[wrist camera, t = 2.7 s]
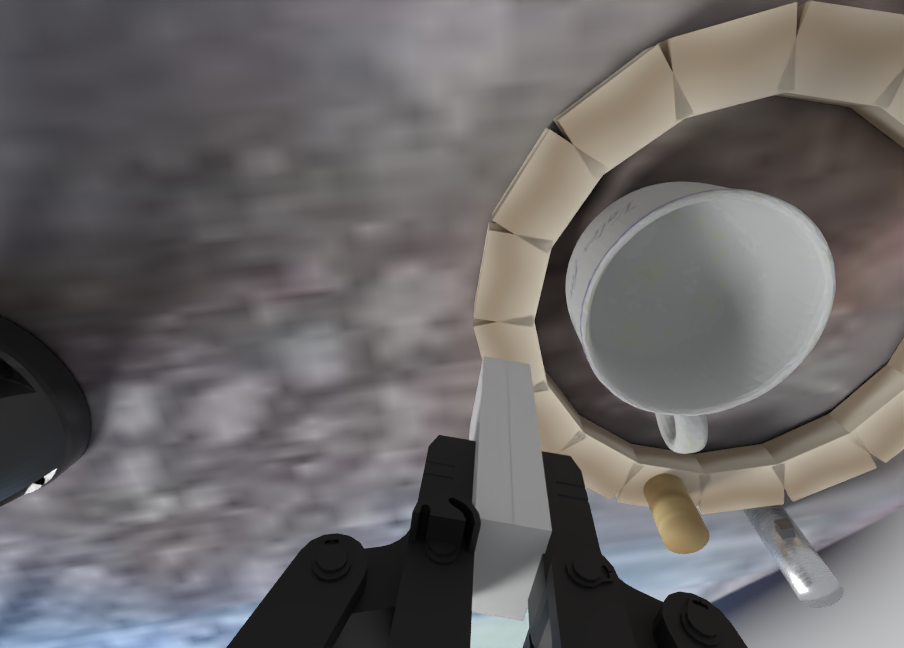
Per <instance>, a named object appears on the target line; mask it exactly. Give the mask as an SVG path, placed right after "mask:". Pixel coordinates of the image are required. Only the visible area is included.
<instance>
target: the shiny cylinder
mask: <svg viewBox="0 0 904 648" xmlns="http://www.w3.org/2000/svg"><path fill="white" fill-rule="evenodd" d="M743 511H744V513H745V514H746V516H747V517H748V519H749V521H750V522H751V524H752V525H753V527H754V528H755V530H756V532H757V533H758V535H759V536H760V538H761V539H762V541H763V543H764V544H765V546H766V547H767V549H768V551H769V552H770V554H771V555H772V557H773V558H774V560H775V562H776V563H777V565H778V566H779V568H780V570H781V571H782V573H783V574H784V576H785V577H786V579H787V580H788V582H789V584H790V585H791V587H792V589H793V590H794V592H795V593H796V595H797V596H798V598H799V599H800V601H801V602H802V603H803V604H804V605H806V606H809V607H813V608H821V607H826V606H829V605H832V604H834V603H835V602H837V601H838V600H840V598H841V597H842V595H843V588H842V586H841V585H840V583H839V582H838V581H837V579H836V578H835V577H834V575H833V574H832V573H831V571H830V570H829V568H828V567H827V566H826V564H825V563H824V562H823V561H822V559H821V558H820V556H819V555H818V554H817V552H816V551H815V549H814V548H813V547H812V545H811V544H810V543H809V541H808V540H807V539H806V537H805V536H804V535H803V533H802V532H801V531H800V529H799V528H798V526H797V525H796V524H795V522H794V521H793V520H792V518H791V517H790V516H789V514H788V513H787V512H786V510H785V509H784V507H783V506H782V505H773V506H765V507H757V508H749V509H743Z"/></svg>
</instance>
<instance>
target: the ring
mask: <svg viewBox="0 0 904 648" xmlns="http://www.w3.org/2000/svg"><path fill="white" fill-rule="evenodd" d="M773 95H774V96H781V97H787V98H794V99H800V100H807V101H813V102H820V103H826V104H833V105H839V106H846V107H850V108H852V109H853V110H854V111H856V112H857V113H858V114H860V115H861V116H862V117H863V118H865V119H866V120H867V121H869V122H870V123H871V124H873V125H874V126H875V127H877V128H878V129H879V130H880V131H882V132H883V133H884V134H886V135H887V136H888V137H890V138H891V139H892V140H894V141H895V142H896V143H898V144H899V145H900V146H901V147H903V148H904V15H903V14H896V13H890V12H883V11H877V10H870V9H863V8H857V7H850V6H844V5H837V4H830V3H824V2H817V1H808V2H805V3H802V4H800V5H797V2H794V3H791V4H787V5H784V6H780V7H777V8H773V9H770V10H766V11H763V12H760V13H756V14H753V15H749V16H746V17H742V18H739V19H735V20H732V21H728V22H725V23H721V24H718V25H714V26H711V27H707V28H704V29H701V30H697V31H694V32H690V33H687V34H683V35H680V36H676V37H673V38H670V39H667V40H665V41H662V42H660V43H657V44H656V45H655V46H653V47H650V48H648V49H645V50H644V51H642V52H641V53H640V54H638V55H637V56H636V57H634V58H633V59H632V60H630V61H629V62H628V63H627V64H625V65H624V66H623V67H621V68H620V69H619V70H617V71H616V72H615V73H613V74H612V75H611V76H609V77H608V78H607V79H606V80H604V81H603V82H602V83H600V84H599V85H598V86H596V87H595V88H594V89H592V90H591V91H590V92H588V93H587V94H586V95H584V96H583V97H582V98H581V99H579V100H578V101H577V102H575V103H574V104H573V105H571V106H570V107H569V108H567V109H566V110H565V111H563V112H562V113H561V114H559V115H558V116H557V117H556V118H554V119H553V120H554V121H555V123H556V125H557V126H558V128H559V129H560V131H561V133H562V134H563V136H564V137H565V139H566V140H565V139H564V138H562V137H561V136H559V135H558V134H556V133H555V132H553V131H552V130H550V129H547V128H545V129H544V131H543V133H542V134H541V136H540V137H539V139H538V141H537V142H536V144H535V145H534V147H533V149H532V150H531V152H530V153H529V155H528V157H527V158H526V160H525V161H524V163H523V165H522V166H521V168H520V169H519V171H518V173H517V174H516V176H515V177H514V179H513V181H512V182H511V184H510V185H509V187H508V189H507V190H506V192H505V193H504V195H503V197H502V198H501V200H500V201H499V203H498V205H497V206H496V208H495V209H494V211H493V213H492V221H494V222H496V223H490V222H489V223H488V229H487V235H486V240H485V246H484V252H483V258H482V264H481V269H480V275H479V281H478V287H477V292H476V298H475V304H474V315H473V318H474V330H475V334H476V338H477V342H478V345H479V349H480V353H481V357H482V361H483V356H484V357H490V358H496V359H502V360H508V361H514V362H520V363H526V364H530V368H531V376H532V383H533V391H534V398H535V406H536V414H537V421H538V429H539V436H540V444H541V451H544V452H550V453H556V454H562V455H568V456H571V457H572V459H573V460H574V461H575V463H576V464H577V465H578V467H579V468H580V470H581V471H582V475H583V480H584V484H585V487H587V488H589V489H591V490H593V491H595V492H597V493H598V494H600V495H602V496H604V497H606V498H608V499H611V498H612V497H613V496H614V495H615V496H616V499H617V502H620V503H626V504H632V505H638V506H645V507H649V508H650V510H651V513H652V515H653V518H654V520H655V523H656V525H657V528H658V530H659V533H660V535H661V538H662V540H663V543H664V545H665V547H666V548H667V549H669V550H670V551H672V552H674V553H678V554H689V553H693V552H696V551H698V550H700V549H702V548H703V547H704V546H705V545H706V544H707V542H708V540H709V532H708V530H707V528H706V526H705V524H704V522H703V520H702V518H701V517H700V515H699V513H698V511H697V509H696V507H698V509H699V511H700V513H701V514H709V513H717V512H725V511H733V510H741V509H749V508H757V507H765V506H773V505H782V504H784V491H785V492H786V494H787V495H788V496H789V497H790V499H791V500H792V501H793V502H794V501H796V500H799V499H801V498H804V497H806V496H809V495H811V494H814V493H816V492H819V491H821V490H824V489H826V488H829V487H831V486H834V485H836V484H839V483H841V482H843V481H846V480H848V479H851V478H853V477H856V476H858V475H861V474H863V473H866V472H868V471H871V470H873V469H876V468H877V467H876V465H875V463H874V461H873V459H872V457H871V455H870V454H872V455H874V456H875V457H877V458H878V459H880V460H882V461H883V462H885V463H886V462H888V461H889V460H890V459H892V458H893V457H894V456H896V455H897V454H898V453H900V452H901V451H902V450H903V449H904V337H903V339H902V341H901V342H900V344H899V346H898V347H897V349H896V351H895V352H894V354H893V356H892V357H891V359H890V360H889V362H888V364H887V365H886V366H884V367H883V368H882V369H881V370H880V371H879V372H877V373H876V374H875V375H874V376H873V377H872V378H870V379H869V380H868V381H867V382H866V383H864V384H863V385H862V386H861V387H860V388H859V389H857V390H856V391H855V392H854V393H853V394H852V395H850V396H849V397H848V398H847V399H846V400H845V401H843V402H842V403H841V404H840V405H839V406H837V407H836V408H835V409H834V410H833V411H832V412H830V413H829V414H828V415H825V416H823V417H821V418H819V419H816V420H814V421H812V422H810V423H808V424H805V425H803V426H801V427H799V428H796V429H794V430H792V431H790V432H788V433H785V434H783V435H781V436H779V437H776V438H774V439H772V440H770V441H767V442H765V443H763V444H759V445H752V446H745V447H738V448H731V449H724V450H717V451H710V452H704V453H697V454H691V453H688V454H682V453H677V452H674V451H672V450H666V449H660V448H653V447H647V446H641V445H635V444H630V443H628V442H627V441H625V440H623V439H621V438H619V437H618V436H616V435H614V434H612V433H610V432H609V431H607V430H605V429H603V428H602V427H600V426H598V425H596V424H594V423H593V422H591V421H589V420H587V419H586V418H584V417H582V416H580V415H579V414H578V413H577V412H576V410H575V409H574V408H573V406H572V405H571V404H570V402H569V401H568V400H567V398H566V397H565V396H564V394H563V393H562V392H561V391H560V389H559V388H558V387H557V385H556V384H555V383H554V381H553V380H552V379H551V377H550V376H549V375H548V373H547V372H546V371H545V369H544V366H543V361H542V356H541V351H540V347H539V342H538V337H537V332H536V327H535V322H534V320H535V316H536V312H537V307H538V303H539V299H540V295H541V290H542V286H543V282H544V278H545V273H546V269H547V265H548V261H549V256H550V252H551V248H552V246H553V245H554V244H555V242H556V241H557V239H558V238H559V236H560V235H561V234H562V232H563V231H564V229H565V228H566V227H567V225H568V224H569V222H570V221H571V220H572V218H573V217H574V215H575V214H576V212H577V211H578V210H579V208H580V207H581V205H582V204H583V203H584V201H585V200H586V198H587V197H588V195H589V194H590V193H591V191H592V190H593V188H594V187H595V186H596V184H597V183H598V181H599V180H600V178H601V177H602V176H603V175H604V174H605V173H607V172H608V171H610V170H611V169H612V168H614V167H615V166H617V165H618V164H620V163H621V162H623V161H624V160H625V159H627V158H628V157H630V156H631V155H633V154H634V153H635V152H637V151H638V150H640V149H641V148H643V147H644V146H646V145H647V144H648V143H650V142H651V141H653V140H654V139H656V138H657V137H659V136H660V135H661V134H663V133H664V132H666V131H667V130H669V129H670V128H672V127H673V126H674V125H676V124H677V123H679V122H680V121H682V120H683V119H685V118H688V117H692V116H696V115H699V114H703V113H707V112H711V111H715V110H719V109H723V108H726V107H730V106H734V105H738V104H742V103H746V102H750V101H753V100H757V99H761V98H765V97H769V96H773ZM869 453H870V454H869Z"/></svg>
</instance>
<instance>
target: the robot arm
mask: <svg viewBox="0 0 904 648" xmlns="http://www.w3.org/2000/svg"><path fill="white" fill-rule="evenodd" d="M89 437H90V416H89V411H88V407H87V404H86V401H85V399H84V396H83V394H82V392H81V390H80V388H79V386H78V385H77V383H76V381H75V380H74V378H73V377H72V375H71V374H70V372H69V371H68V370H67V368H66V367H65V366H64V365H63V364H62V362H61V361H60V360H59V359H58V358H57V357H56V356H55V355H54V354H53V353H52V352H51V351H50V350H49V349H48V348H47V347H46V346H45V345H43V344H42V343H41V342H40V341H39V340H37V339H36V338H35V337H33V336H32V335H31V334H29V333H28V332H26V331H25V330H23V329H22V328H20V327H19V326H17V325H15V324H13V323H12V322H10V321H8V320H6V319H4V318H2V317H0V506H2V505H4V504H6V503H8V502H10V501H12V500H14V499H16V498H18V497H20V496H22V495H24V494H27V493H30V492H33V491H35V490H37V489H39V488H41V487H43V486H45V485H47V484H48V483H50V482H51V481H53V480H54V479H56V478H57V477H58V476H59V475H60V474H62V473H63V472H64V471H65V470H66V469H68V468H69V467H70V466H71V465H72V464H73V463H75V462H76V461H77V460H78V459H79V458H80V457H81V455H82V454H83V452H84V451H85V449H86V447H87V444H88V441H89ZM527 608H528V612H529V630H528V633H527V636H526V639H525V642H524V645H523V648H747V646H746V645H745V643H744V642H743V640H742V639H741V637H740V636H739V634H738V633H737V631H736V630H735V628H734V627H733V625H732V624H731V623H730V621H729V620H728V619H727V618H726V617H725V616H724V614H723V613H722V612H721V611H720V610H719V609H718V608H716V607H715V606H713V605H712V604H711V603H710V602H708V601H707V600H705V599H703V598H701V597H699V596H697V595H694V594H692V593H685V592H676V593H673V594H670V595H668V597H667V598H666V599H665V601H664V602H662V601H659V600H657V599H655V598H653V597H651V596H649V595H647V594H644V593H642V592H640V591H638V590H636V589H634V588H632V587H631V586H629V585H627V584H625V583H624V582H623V581H622V580H620V579H619V578H618V576H617V574H616V572H615V570H614V567H613V566H612V565H611V564H610V563H609V561H608V560H607V559H606V558H605V557H604V556H603V555H602V554H601V551H600V548H599V543H598V539H597V535H596V531H595V526H594V522H593V518H592V514H591V509H590V505H589V503H588V497H587V492H586V490H585V484H584V480H583V475H582V471H581V470H580V468H579V467H578V465H577V464H576V463H575V461H574V460H573V459H572V457H571V456H568V455H562V454H556V453H550V452H544V451H541V444H540V436H539V429H538V421H537V414H536V406H535V398H534V391H533V383H532V376H531V368H530V364H526V363H520V362H514V361H508V360H502V359H496V358H490V357H484V356H483V362H482V367H481V372H480V377H479V382H478V388H477V393H476V398H475V403H474V409H473V414H472V419H471V424H470V435H469V440H466V439H460V438H454V437H448V436H442V435H439V436H438V437H437V438H436V439H435V440H434V441H433V442H432V443H431V445H430V446H429V448H428V453H427V458H426V464H425V468H424V473H423V478H422V483H421V488H420V493H419V498H418V502H417V504H416V506H415V508H414V510H413V513H412V520H411V527H410V530H409V531H408V533H407V534H406V535H405V536H404V537H402V538H401V539H400V540H398V541H396V542H394V543H392V544H390V545H386V546H381V547H374V548H366V549H364V548H363V546H362V545H361V543H360V542H358V541H357V540H355V539H354V538H352V537H350V536H347V535H342V534H338V533H337V534H328V535H323V536H320V537H318V538H316V539H314V540H312V541H310V542H309V543H308V544H307V545H306V546H305V547H304V548H303V549H301V551H300V552H299V553H298V554H297V556H296V557H295V558H294V560H293V561H292V562H291V564H290V565H289V566H288V568H287V569H286V570H285V572H284V573H283V574H282V575H281V577H280V578H279V579H278V581H277V582H276V583H275V585H274V586H273V587H272V589H271V590H270V591H269V593H268V594H267V595H266V596H265V598H264V599H263V600H262V602H261V603H260V604H259V606H258V607H257V608H256V610H255V611H254V612H253V613H252V615H251V616H250V617H249V619H248V620H247V621H246V623H245V624H244V625H243V627H242V628H241V629H240V631H239V632H238V633H237V634H236V636H235V637H234V638H233V640H232V641H231V642H230V644H229V645H228V646H227V648H470V637H471V615H472V612H475V613H481V614H487V615H492V616H498V617H504V618H509V619H515V620H521V621H523V620H524V617H525V614H526V611H527Z"/></svg>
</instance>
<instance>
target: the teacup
mask: <svg viewBox="0 0 904 648" xmlns="http://www.w3.org/2000/svg"><path fill="white" fill-rule="evenodd" d="M835 290H836V276H835V266H834V261H833V257H832V254H831V252H830V249H829V246H828V244H827V241H826V239H825V238H824V236H823V234H822V233H821V231H820V229H819V228H818V227H817V226H816V225H815V224H814V222H813V221H812V220H811V219H810V218H809V217H808V216H807V215H806V214H805V213H803V212H802V211H801V210H800V209H799V208H797V207H795V206H793V205H792V204H790V203H788V202H786V201H784V200H782V199H779V198H777V197H775V196H772V195H768V194H764V193H760V192H757V191H752V190H744V189H731V188H727V187H721V186H716V185H711V184H705V183H697V182H684V181H681V182H667V183H660V184H655V185H651V186H647V187H644V188H641V189H638V190H636V191H634V192H631V193H629V194H627V195H625V196H623V197H622V198H620V199H618V200H616V201H615V202H613V203H612V204H610V205H609V206H608V207H606V208H605V209H604V210H603V211H602V212H601V213H600V214H599V215H598V216H597V217H595V218H594V219H593V220H592V222H591V223H590V224H589V225H588V227H587V228H586V229H585V231H584V232H583V233H582V235H581V236H580V238H579V240H578V242H577V244H576V246H575V248H574V250H573V252H572V255H571V258H570V261H569V265H568V270H567V274H566V300H567V306H568V311H569V314H570V317H571V320H572V323H573V326H574V328H575V330H576V333H577V335H578V337H579V339H580V341H581V343H582V345H583V349H584V352H585V355H586V357H587V360H588V362H589V364H590V366H591V368H592V370H593V372H594V374H595V375H596V377H597V378H598V379H599V380H600V382H601V383H602V384H603V385H605V386H606V387H607V388H608V389H609V390H610V391H611V392H612V393H613V394H614V395H615V396H617V397H618V398H619V399H621V400H623V401H624V402H626V403H628V404H630V405H632V406H634V407H636V408H639V409H642V410H645V411H649V412H654V413H655V414H656V419H657V423H658V426H659V429H660V432H661V435H662V437H663V439H664V441H665V443H666V444H667V446H668V447H669V448H670V449H671V450H672V451H674V452H677V453H682V454H688V453H695V452H698V451H700V450H702V449H703V448H704V447H705V445H706V443H707V439H708V423H707V417H706V414H711V413H717V412H720V411H723V410H727V409H730V408H733V407H735V406H737V405H740V404H743V403H746V402H748V401H751V400H753V399H755V398H757V397H759V396H761V395H763V394H764V393H766V392H768V391H769V390H771V389H772V388H774V387H775V386H776V385H778V384H779V383H780V382H781V381H783V380H784V379H785V378H787V377H788V376H789V375H790V374H791V373H792V372H793V371H794V370H795V369H796V368H797V367H798V366H799V365H800V364H801V363H802V362H803V361H804V360H805V358H806V357H807V355H808V354H809V353H810V352H811V350H812V349H813V347H814V346H815V344H816V343H817V341H818V340H819V337H820V335H821V333H822V332H823V330H824V328H825V326H826V325H827V322H828V320H829V317H830V314H831V311H832V306H833V301H834V296H835Z"/></svg>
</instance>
